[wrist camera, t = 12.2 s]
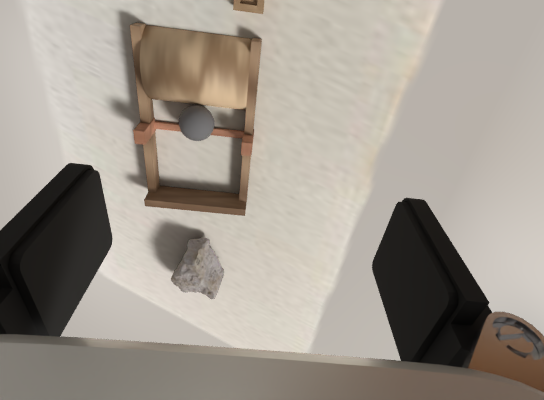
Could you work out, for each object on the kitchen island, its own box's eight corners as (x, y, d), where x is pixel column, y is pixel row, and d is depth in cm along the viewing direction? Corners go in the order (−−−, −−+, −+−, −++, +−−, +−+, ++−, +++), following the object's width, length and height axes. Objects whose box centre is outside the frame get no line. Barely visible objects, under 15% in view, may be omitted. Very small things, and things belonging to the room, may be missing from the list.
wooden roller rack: (149, 15, 39) (120, 28, 31) (263, 31, 40) (261, 47, 32) (161, 172, 51) (143, 208, 44) (249, 181, 52) (245, 218, 44)
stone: (177, 277, 57) (169, 308, 52) (165, 235, 51) (155, 265, 46) (225, 276, 57) (222, 306, 52) (219, 233, 51) (215, 263, 46)
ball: (173, 129, 36) (179, 144, 40) (210, 133, 37) (213, 147, 41) (178, 96, 37) (184, 113, 41) (214, 100, 38) (217, 117, 41)
